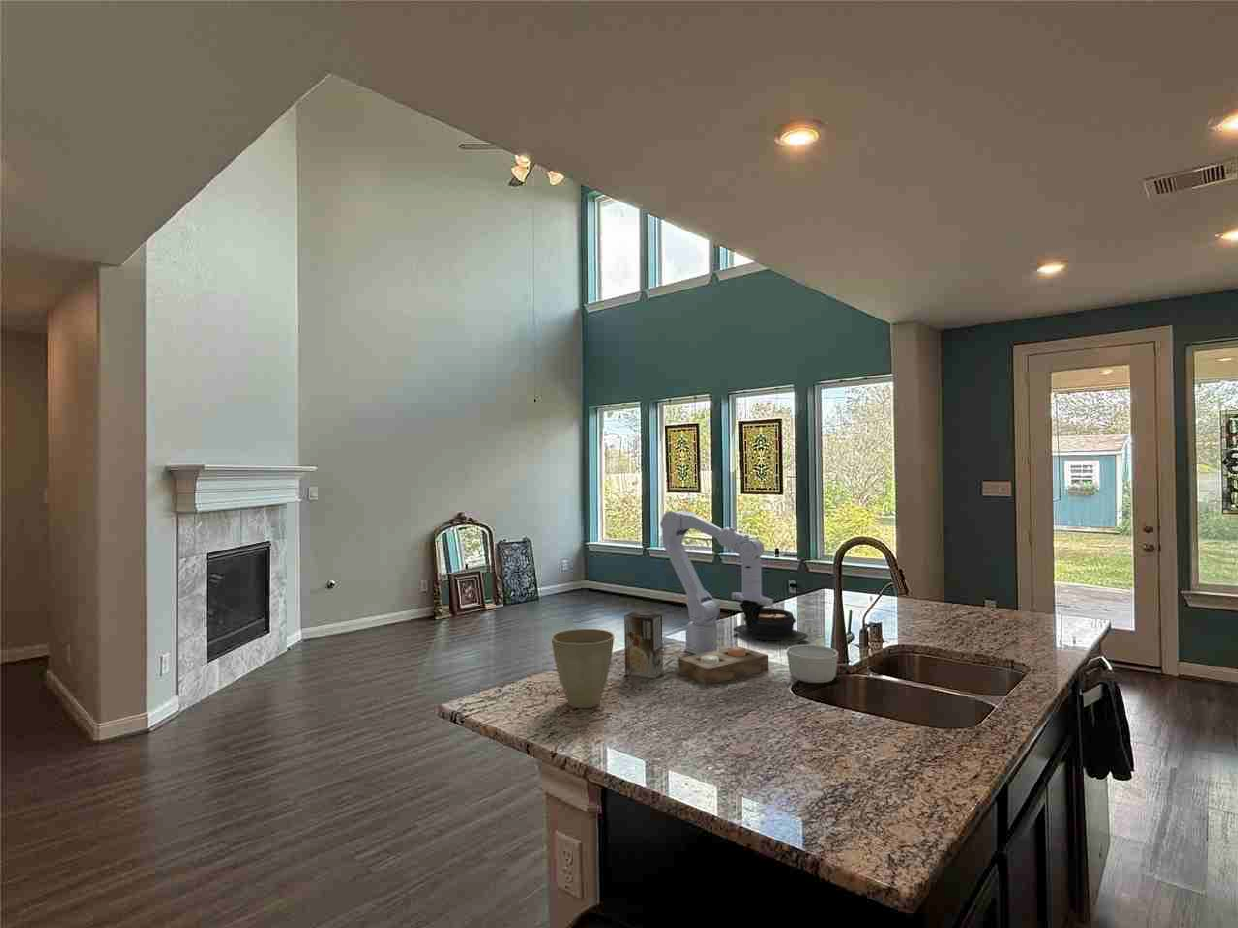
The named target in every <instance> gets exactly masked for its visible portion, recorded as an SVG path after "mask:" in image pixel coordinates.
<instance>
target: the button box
mask: <svg viewBox="0 0 1238 928" xmlns="http://www.w3.org/2000/svg"><path fill="white" fill-rule="evenodd" d="M733 647H741V646H739V645H735V646H733ZM728 648H729V647H726V648H720V649H717V650H715V651H711V652H706V653H701V654H696V655H695V654H693V655H688V656H682V657H678V659H677V660H678V674H680V675H682V676H685V677H688V678H691V680H692V679H693V680H695V681H698V682H701V683H702V684H706V685H713V684H716V683H721V682H725V681H728V680H729V681H730V680H733V679H737V678H740V677H741V678H742V677H744V676H748V675H752V674H753V675H754V674H758V673H760V672H764V671H769V655H768V654H766V653H762V652H759V651H756V650H752V649H749V648H746V647H744V648H745V649H746V656H744V657H739V658H735V657H732V656H729V655H728ZM707 655H711V656H717V657H718V658H719V662H717V663H713V664H707V663H704V662H701V657H702V656H707Z"/></svg>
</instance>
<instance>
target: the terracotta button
mask: <svg viewBox="0 0 1238 928" xmlns="http://www.w3.org/2000/svg"><path fill="white" fill-rule="evenodd" d="M727 648H728V655H729V656H732V657H735V658H739V657H744V656H746V649H747V648H746V647H743V646H740V647H734V646H730V647H727ZM745 648H746V649H745Z"/></svg>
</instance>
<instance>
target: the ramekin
mask: <svg viewBox="0 0 1238 928" xmlns="http://www.w3.org/2000/svg"><path fill="white" fill-rule="evenodd" d="M786 655H787V661H788V670H789V673H790V675H791V676H792V677H793V678H794V679H795V680H798V681H800V682H803V683H804V682H805V683H811V684H821V683H822V684H824V683H829V682H832V681H833V680H834V679H835V677H836V673H837V665H838V660H839V652H838V651H837V650H836V649H835V648H831V647H828V646H824V645H818V644H796V645H791V646H788V647H787V648H786Z"/></svg>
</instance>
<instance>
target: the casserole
mask: <svg viewBox="0 0 1238 928" xmlns="http://www.w3.org/2000/svg"><path fill="white" fill-rule="evenodd" d="M742 619H743V622H744V623H745V624H741V625H737V626H735V627H733V629H732V630H733V631H734V632H736V633H739V634H741V635H744V636H745V637H749V638H751V639H753V640H756V641H760V642H765V643H781V642H786V643H787V642H790V643H792V642H800V641H802V640H805V639H807V638H808V634H807V633H804V632H802V631H798V630H796V629H794V625H795V623H796V622H797V619H796V618H795V617H794V614H793V612H791V611H789V610H784V609H780V608H772V607H771V608H770V607H766V608H764V607H763V609H762V611H761V613H760V615H759V618H758V622H757V626H756V628H752V629H751V628H748V625H747V621H746V618H745V615H744V616H743V618H742Z"/></svg>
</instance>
